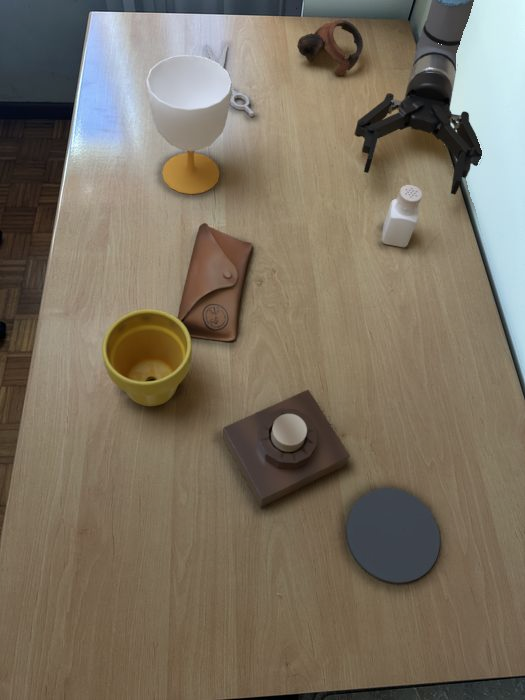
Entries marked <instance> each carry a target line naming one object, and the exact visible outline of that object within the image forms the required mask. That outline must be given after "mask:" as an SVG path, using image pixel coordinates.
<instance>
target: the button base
mask: <svg viewBox="0 0 525 700" xmlns="http://www.w3.org/2000/svg"><path fill="white" fill-rule="evenodd" d="M283 414H294V415H297V416H299V417H300V418H301V419H302V420H303V421H304V422H305V424H306V427H307V434H306V437H305V440H304V443H303V445H302V446H301V447H300V448H299V449H298V450H296V451H294V452H284V451H281V450H279V449H278V448H276V447H275V445H274V444H273V442H272V440H271V432H272V427H273V423H274V421H275V420H276V419H277V418H278V417H279V416H281V415H283ZM221 436H222V440H223V442H224V444H225V445H226V447H227V449H228V451H229V454H230V455H231V457H232V459H233V461H234V462H235V464H236V466H237V468H238V470H239V472H240V474H241V475H242V477H243V479H244V481H245V483H246V485H247V486H248V489H249V490H250V492H251V494H252V497H253V498H254V499H255V501H256V503H257V505H258V507H259V508H263V507H265V506H267V505H269V504H271V503H273V502H276V501H277V500H279V499H281V498H283V497H285V496H287V495H289V494H291V493H293V492H295V491H297V490H299V489H301V488H303V487H305V486H307V485H309V484H311V483H313V482H315V481H316V480H318V479H321V478H323V477H325V476H327V475H330V474H331V473H333V472H335V471H337V470H339V469H341V468H343V467H344V466H346V465H347V463H348V461H349V460H350V457H351V455H350V454H349V452H348V450H347V449H346V447H345V445H344V444H343V442H342V441H341V438H339V436H338V435H337V433H336V431H335V430H334V428H333V426H332V425H331V424H330V422H329V420H328V419H327V417H326V415H325V413H324V412H323V411H322V409H321V407H320V406H319V404H318V402H317V401H316V399H315V397H314V396H313V394H312V393H311V391H310V390H309V389H306V390H304V391H301V392H299V393H298V394H295V395H293V396H291V397H288V398H286V399H284V400H282V401H280V402H278V403H275V404H273V405H271V406H269V407H266V408H264V409H262V410H259V411H257V412H254V413H253V414H250V415H248V416H246V417H243V418H241V419H239V420H237V421H235V422H233V423H230V424H228V425H225V426H224V427H223V428H222V435H221Z"/></svg>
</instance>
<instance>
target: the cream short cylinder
mask: <svg viewBox="0 0 525 700" xmlns="http://www.w3.org/2000/svg"><path fill="white" fill-rule="evenodd" d="M306 434H307V427H306V424H305V422H304V421H303V420H302V419H301V418H300V417H299V416H297V415H294V414H283V415H281V416H279V417H278V418H277V419H276V420H275V421H274V423H273V427H272V432H271V440H272V442H273V444H274V445H275V447H276V448H278V449H279V450H281V451H284V452H294V451H296V450H298V449H299V448H300V447H301V446H302V445H303V443H304V440H305V437H306Z"/></svg>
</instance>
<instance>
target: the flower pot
mask: <svg viewBox="0 0 525 700" xmlns="http://www.w3.org/2000/svg"><path fill="white" fill-rule="evenodd" d="M192 344H193V343H192V337H190V334H189V332H188V330H187V328H186V327H185V325H184V324H183V323H182V322H181V321H180V320H179V319H178V317H176V316H175V315H173V314H172V313H170V312H167V311H165V310H160V309H155V308H154V309H153V308H142V309H137V310H133V311H130V312H128V313H126V314H124V315H122V316H120V317H119V318H117V320H115V321H114V322H113V323H112V324H111V325H110V327H109V328H108V330H107V331H106V333H105V334H104V337H103V340H102V346H101V354H102V360H103V364H104V368H105V370H106V373H107V375H108V377H109V379H110V380H111V381H112V382H113V384H115V385H116V386H117V387H118V388H119V389H121V390H122V391H124V392H125V393H126V394H127V395H128V397H129V398H130V400H131V401H133V402H135V403H136V404H138V405H141V406H144V407H156V406H161V405H163V404H165V403H167V402H168V401H169V400H170V399H171V398H172V397H173V396H174V395H175V393H176V391H177V389H178V386H179V384H181V382H183V380H184V379H185V378H186V376H187V374H188V373H189V370H190V368H191V364H192V357H193V355H192V354H193V345H192Z"/></svg>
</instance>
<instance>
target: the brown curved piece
mask: <svg viewBox="0 0 525 700" xmlns="http://www.w3.org/2000/svg"><path fill="white" fill-rule="evenodd" d="M337 27H341V28H340V29H341V30H342V31H343V30H344V31H345V32H348V33H349V34H351V35H352V37H353V43H354V44H355V46H356V51H355V52H354V53H350V54H349V55H348V57H347V58H346V52H345V51H344V50H342V48H340V47H339V45H338V44H337V42H336V40H335V38H334V37H335V36H334V33H335V32H334V31H335V29H336V28H337ZM296 46H297V49H298V52H299V53H300V54H301V56H304V57H305V58H306V60H307V61H308V62H309V63H312V62H313V60H314V58H315V57H316V55H317V54H318V53H319V52H320V51H321V50H322V48H324V50H325V51H326V52H327V53H328V54H329V56H331V57H332V58H333V60H334V61H336V62H337V63H338V64H339V66H338V68H337V69H336V70H335V75H336V76H343V75H344V74H346V72H347V71H350V70H351V69H352V68H354V67H355V65H356V64H357V63H358V61H359V58H360V55H361V54H362V52H363V49H364V41H363V37H362V35H361V32H360V31H359V29H358V28H357V27H356V26H355V24H353V23H351V22H349V21H347V20H342V19H338V20H336V21H334V22H327V23H325V24H323V25H321V26H320V27H318V28H317V30H315V31H314V33H308V34H305V35H303V36H301V37H299V39H298V42H297V45H296Z"/></svg>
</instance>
